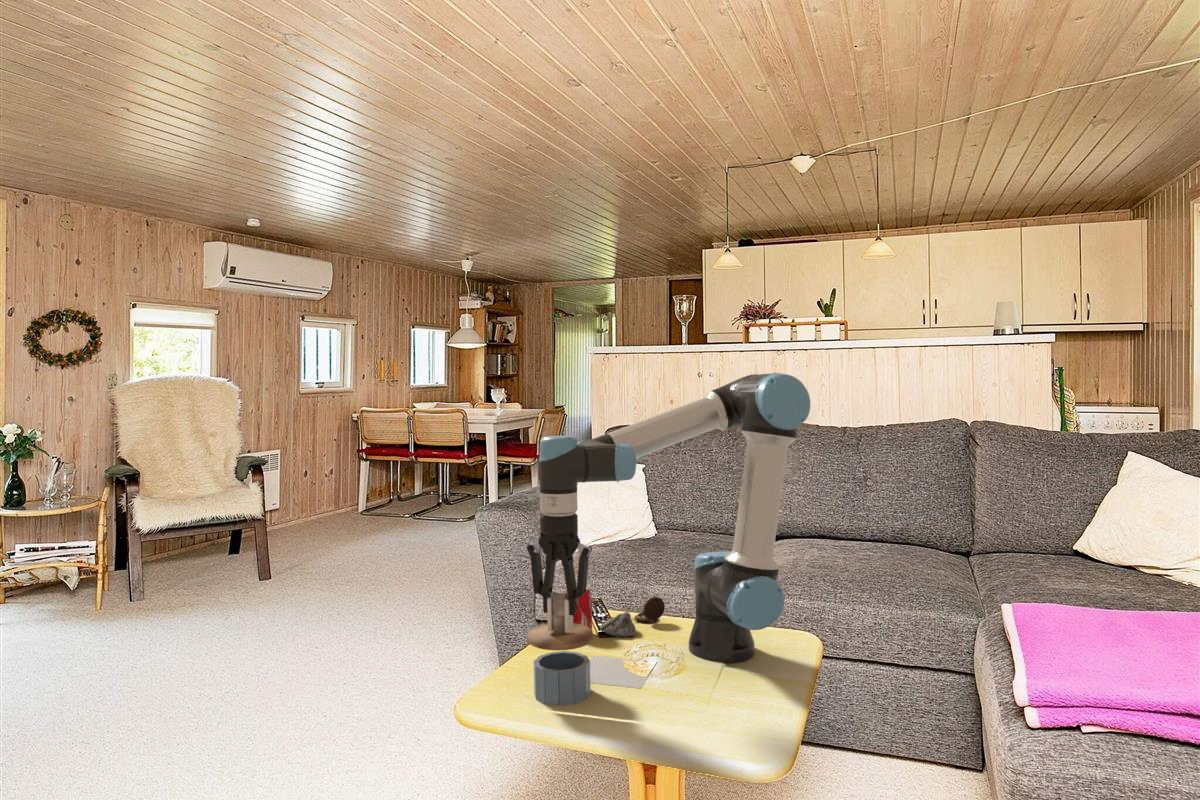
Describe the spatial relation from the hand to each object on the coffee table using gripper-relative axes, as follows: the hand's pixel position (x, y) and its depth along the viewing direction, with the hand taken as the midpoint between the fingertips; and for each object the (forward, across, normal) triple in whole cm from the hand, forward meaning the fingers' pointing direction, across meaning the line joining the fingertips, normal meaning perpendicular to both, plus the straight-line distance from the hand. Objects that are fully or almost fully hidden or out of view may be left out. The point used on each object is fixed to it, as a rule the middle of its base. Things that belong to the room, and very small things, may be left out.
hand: (560, 629), depth 148 cm
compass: (+14, +4, +50) cm, 52 cm away
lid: (+2, 0, 0) cm, 2 cm away
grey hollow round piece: (+13, 0, 0) cm, 13 cm away
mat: (+13, +7, +14) cm, 21 cm away
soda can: (+14, -9, +35) cm, 39 cm away
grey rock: (+14, 0, +40) cm, 42 cm away
